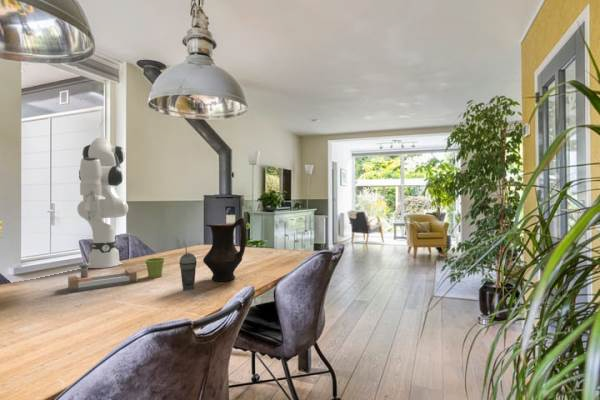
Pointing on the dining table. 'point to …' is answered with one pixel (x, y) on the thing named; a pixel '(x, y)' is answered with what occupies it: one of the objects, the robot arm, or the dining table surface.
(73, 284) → the track
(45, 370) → the dining table surface
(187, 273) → the beverage cup
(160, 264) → the plant pot
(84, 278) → the keeper
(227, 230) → the jug
